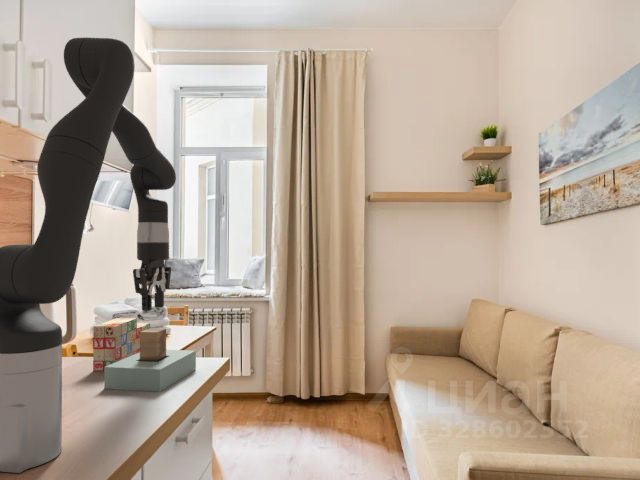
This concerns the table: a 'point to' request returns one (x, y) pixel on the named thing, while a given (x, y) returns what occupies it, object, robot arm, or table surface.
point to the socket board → (149, 371)
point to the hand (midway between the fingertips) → (153, 308)
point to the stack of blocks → (116, 341)
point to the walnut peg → (153, 345)
